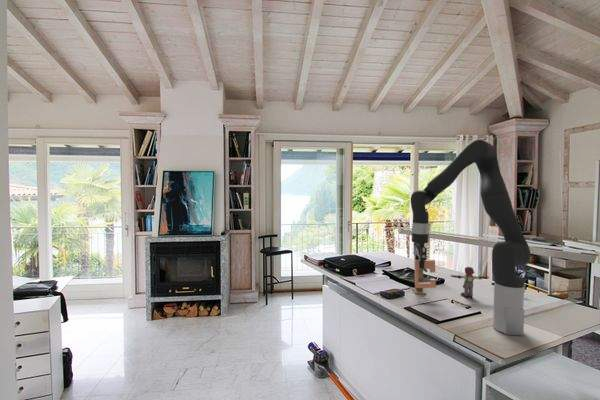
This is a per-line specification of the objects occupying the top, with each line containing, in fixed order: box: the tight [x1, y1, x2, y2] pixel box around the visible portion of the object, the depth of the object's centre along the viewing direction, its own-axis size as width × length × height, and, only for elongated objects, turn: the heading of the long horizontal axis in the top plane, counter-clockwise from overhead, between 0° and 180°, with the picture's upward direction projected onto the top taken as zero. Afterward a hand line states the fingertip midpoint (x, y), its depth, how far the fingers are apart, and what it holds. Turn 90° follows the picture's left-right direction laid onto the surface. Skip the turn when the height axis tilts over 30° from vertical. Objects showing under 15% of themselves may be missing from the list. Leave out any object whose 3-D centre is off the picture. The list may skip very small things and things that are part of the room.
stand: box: [411, 269, 428, 296], centre depth 153 cm, size 16×5×16 cm, turn 173°
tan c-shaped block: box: [413, 259, 437, 289], centre depth 148 cm, size 2×9×13 cm, turn 83°
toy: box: [450, 266, 490, 299], centre depth 151 cm, size 18×6×15 cm, turn 84°
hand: (419, 266), depth 148 cm, fingers open, 7 cm apart
